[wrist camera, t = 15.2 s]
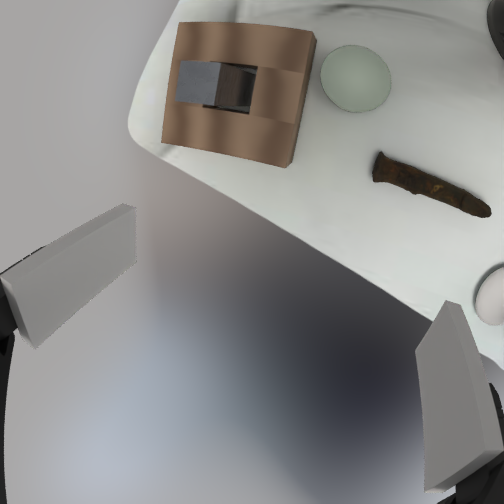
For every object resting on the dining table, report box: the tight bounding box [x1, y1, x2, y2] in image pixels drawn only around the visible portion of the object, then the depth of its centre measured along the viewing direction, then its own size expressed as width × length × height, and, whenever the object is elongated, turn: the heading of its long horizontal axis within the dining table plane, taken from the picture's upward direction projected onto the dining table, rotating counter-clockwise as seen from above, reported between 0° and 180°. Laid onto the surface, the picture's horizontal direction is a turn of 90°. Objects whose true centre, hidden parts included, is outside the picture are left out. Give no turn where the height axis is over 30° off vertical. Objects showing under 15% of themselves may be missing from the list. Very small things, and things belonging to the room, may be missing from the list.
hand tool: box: [372, 152, 492, 218], centre depth 35 cm, size 19×4×5 cm, turn 77°
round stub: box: [320, 45, 391, 113], centre depth 31 cm, size 8×8×7 cm
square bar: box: [175, 61, 256, 106], centre depth 33 cm, size 4×4×14 cm
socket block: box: [161, 22, 317, 168], centre depth 37 cm, size 18×18×5 cm
